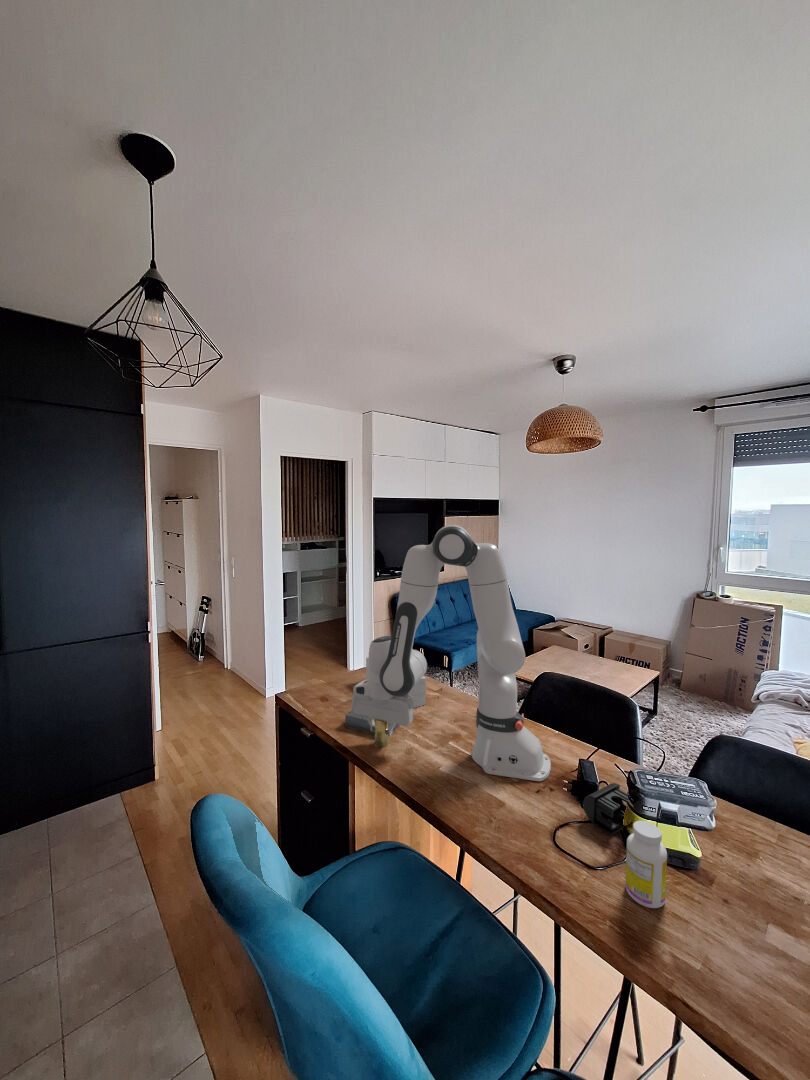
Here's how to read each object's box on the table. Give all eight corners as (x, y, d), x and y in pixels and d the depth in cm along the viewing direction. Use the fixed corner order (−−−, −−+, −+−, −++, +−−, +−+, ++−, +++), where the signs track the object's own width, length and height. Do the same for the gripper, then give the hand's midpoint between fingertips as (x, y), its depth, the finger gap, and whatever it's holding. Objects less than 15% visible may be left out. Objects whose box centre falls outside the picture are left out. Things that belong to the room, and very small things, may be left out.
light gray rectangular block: (425, 705, 165) (426, 677, 164) (400, 711, 160) (401, 682, 159) (388, 678, 193) (388, 653, 192) (365, 681, 188) (366, 657, 187)
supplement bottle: (651, 880, 86) (654, 816, 85) (673, 910, 79) (676, 841, 78) (618, 880, 85) (620, 817, 85) (637, 910, 79) (640, 842, 78)
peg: (389, 742, 137) (390, 717, 136) (384, 748, 133) (384, 722, 133) (378, 739, 138) (378, 714, 138) (372, 745, 135) (372, 720, 134)
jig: (404, 720, 152) (404, 709, 151) (387, 737, 140) (388, 725, 140) (364, 711, 158) (364, 700, 158) (345, 726, 146) (345, 715, 146)
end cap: (606, 804, 109) (608, 778, 108) (634, 821, 103) (636, 793, 102) (581, 818, 103) (582, 790, 103) (609, 837, 97) (611, 808, 97)
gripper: (417, 691, 133) (416, 735, 134) (359, 679, 142) (358, 721, 143) (408, 698, 128) (407, 744, 128) (348, 686, 136) (348, 729, 137)
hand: (381, 732), depth 136 cm, fingers closed on peg, 4 cm apart
